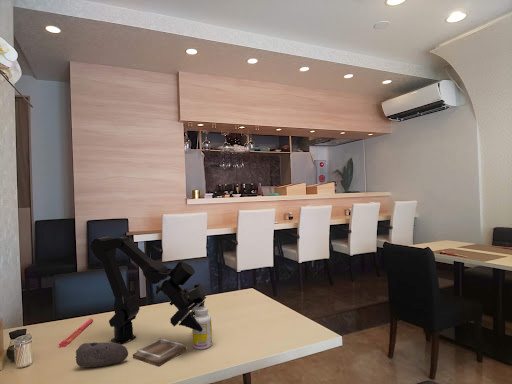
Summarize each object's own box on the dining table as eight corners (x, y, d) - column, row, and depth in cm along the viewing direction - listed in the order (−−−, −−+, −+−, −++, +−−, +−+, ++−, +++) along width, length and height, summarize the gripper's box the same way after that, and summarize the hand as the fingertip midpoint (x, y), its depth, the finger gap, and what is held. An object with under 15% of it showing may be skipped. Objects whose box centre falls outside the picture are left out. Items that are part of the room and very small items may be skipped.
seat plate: (132, 357, 104) (132, 351, 105) (160, 343, 115) (160, 336, 115) (159, 366, 98) (159, 359, 99) (186, 349, 109) (185, 343, 109)
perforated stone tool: (130, 358, 104) (130, 336, 105) (126, 366, 99) (125, 343, 99) (81, 363, 102) (81, 341, 103) (74, 371, 97) (74, 348, 97)
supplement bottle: (203, 339, 116) (202, 304, 117) (215, 344, 112) (214, 307, 113) (188, 346, 111) (187, 309, 112) (201, 352, 107) (200, 313, 107)
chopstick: (55, 350, 114) (68, 346, 114) (53, 345, 114) (66, 340, 114) (85, 324, 138) (96, 320, 138) (84, 320, 138) (94, 316, 138)
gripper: (178, 285, 104) (211, 321, 101) (200, 272, 122) (228, 302, 120) (156, 308, 106) (188, 344, 103) (181, 292, 124) (209, 322, 121)
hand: (205, 326), depth 112 cm, fingers closed on supplement bottle, 7 cm apart
